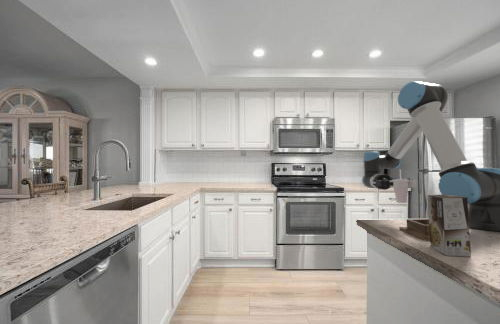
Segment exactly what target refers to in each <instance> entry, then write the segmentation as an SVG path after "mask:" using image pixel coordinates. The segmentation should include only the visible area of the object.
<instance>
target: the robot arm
mask: <svg viewBox="0 0 500 324" xmlns="http://www.w3.org/2000/svg"><path fill="white" fill-rule="evenodd" d="M447 91H448V90H447V89H446V88H445V87H444V86H442V85H441V84H437V83H431V82H425V81H424V82H423V81H420V80H418V81H410V82H408V83H406V84H405V85H403V87H402V88H401V89H400V91H399V94H398V96H397V103H398V106H400V107H401V108H402V109H403V110H407V112H408V115H409V116H410V117H411V118H410V121H409V122H408V123H407V124H406V126H405V127H404V129H403V130H402V131H401V133H400V134H399V135H398V136H397V138H396V140H395V141H394V142H393V144H392V145H391V146H390V147H389V149H388V150H387V151H386V153H385V154H383V155H382V154H381V155H380V152H379V151H366V152H364V153H363V165H364V166H363V167H364V175H363V176H362V180H361V183H362V184H363V186H365V187H367V188H370V189H377V190H378V191H380V190H381V191H382V190H384V191H385V190H388V189H390V188H394V187H397V188H400V186H399V181H393V179H394V178H393V177H391V176H390V175H389V174H386V173H381V170H385V169H386V170H393V169H397V168H400V167H401V165H402V158H403V156H404V155H405V154H406V153H407V152H408V151H409V149H410V147H411V146H412V145H413V144H414V143H415V141H416V140H417V139H418V138H419V137H420V136H421V134H422V133H423V135H424V137H425V139H426V141H427V142H428V145H429V147H430V149H431V151H432V153H433V155H434V157H435V159H436V161H437V163H438V165H439V167H440V170H439V171H438V176H439V178H440V179H438V180H439V182H438V190H439V193H440V195H455V196H461V197H467V198H468V199H467V200H468V216H469V228H471V229H476V230H481V231H490V232H500V168H496V167H477V165H476V163H474V162H472V161H469V160H467V157H466V155H464V153H463V150H462V149H461V147H460V145H459V143H458V141H457V140H456V137H455V136H454V134H453V132H452V129H451V128H450V127H449V124H448V123H447V121H446V119H445V117H444V115H443V114H442V112H443V110H444V108H445V107H446V105H447V102H448V99H449V98H448V96H449V95H448V92H447ZM406 179H409V182H408V187H410V188H418V180H416V179H415V180H414V179H411V178H408V177H407V178H406Z"/></svg>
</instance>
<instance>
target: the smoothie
mask: <svg viewBox="0 0 500 324" xmlns="http://www.w3.org/2000/svg"><path fill="white" fill-rule="evenodd" d="M398 170H399V178H393V181H399V186H400V188H397V187H393V191H394V196H395V200H396V203H399V204H406V203H407V202H408V192H409V186H408V182H409V179H407V178H406V179H405V178H402V169H398Z"/></svg>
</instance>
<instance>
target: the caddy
mask: <svg viewBox="0 0 500 324" xmlns="http://www.w3.org/2000/svg"><path fill="white" fill-rule="evenodd" d="M399 230H400V231H402V232H404V233H407V234H409V235H411V236H413V237H416V238H418V239H421V240H422V241H425V242H428V241H430V230H429V218H415V219H414V218H413V219H412V218H411V219H410V218H409V219H408V218H407V219H406V226H399Z"/></svg>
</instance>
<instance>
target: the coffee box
mask: <svg viewBox="0 0 500 324" xmlns="http://www.w3.org/2000/svg"><path fill="white" fill-rule="evenodd" d="M426 198H427V199H426V200H427V212H428V215H427V216H428V219H429V230H430V247H431V248H432V249H434V250H435V251H438V252H439V253H441V254H443V255H444V256H448V257H450V256H451V257H452V256H453V257H471V256H472V253H471V252H472V251H471V235H470V227H469V216H468V208H469V204H468V200H467V199H468V198H467V197H461V196H455V195H442V194H433V195H429V194H428V195H426Z"/></svg>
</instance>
